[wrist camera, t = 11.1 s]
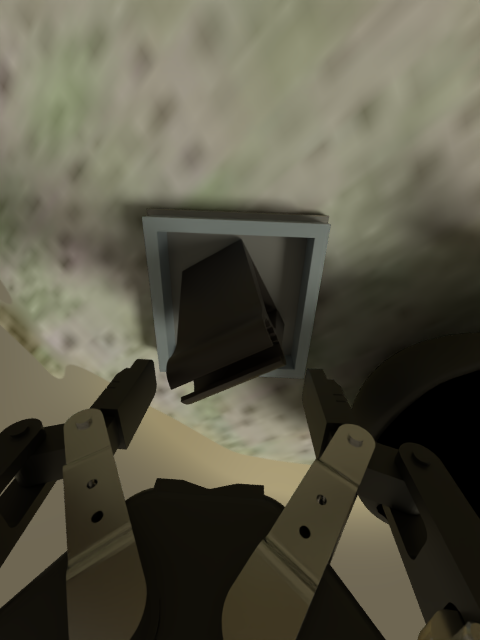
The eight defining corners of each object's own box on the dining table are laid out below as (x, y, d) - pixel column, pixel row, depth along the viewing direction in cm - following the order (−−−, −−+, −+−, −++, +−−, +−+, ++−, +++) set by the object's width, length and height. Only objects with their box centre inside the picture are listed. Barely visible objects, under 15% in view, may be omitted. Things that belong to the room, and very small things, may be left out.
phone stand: (183, 269, 23) (123, 328, 12) (241, 237, 22) (234, 272, 11) (230, 346, 26) (216, 448, 15) (284, 322, 25) (311, 416, 14)
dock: (326, 215, 21) (338, 217, 18) (301, 363, 28) (308, 383, 25) (150, 208, 22) (134, 209, 19) (165, 357, 28) (155, 375, 25)
